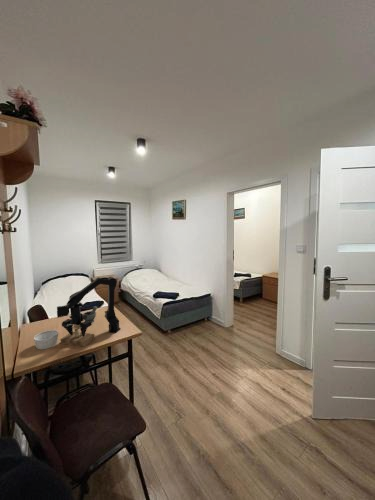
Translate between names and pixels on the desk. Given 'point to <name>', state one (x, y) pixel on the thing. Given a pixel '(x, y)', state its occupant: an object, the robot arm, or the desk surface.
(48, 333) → the ramekin
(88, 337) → the board
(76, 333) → the peg
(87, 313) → the mortar and pestle
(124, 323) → the desk surface
